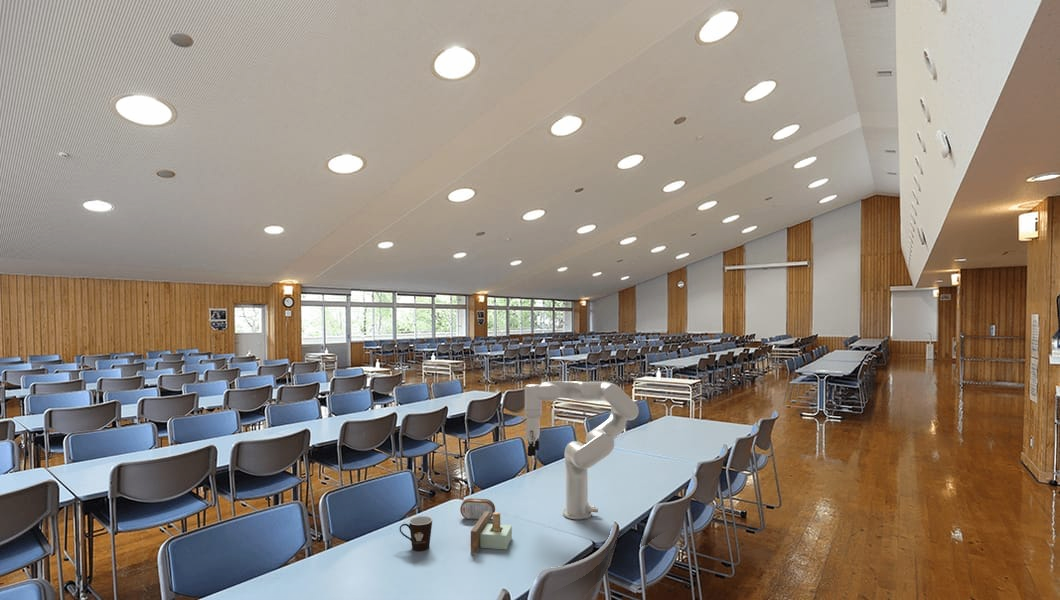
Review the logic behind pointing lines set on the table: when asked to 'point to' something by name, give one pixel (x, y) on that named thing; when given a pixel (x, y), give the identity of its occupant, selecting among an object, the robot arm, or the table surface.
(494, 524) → the dowel
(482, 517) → the wall
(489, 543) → the block
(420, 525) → the coffee mug
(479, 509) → the tin
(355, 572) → the table surface
